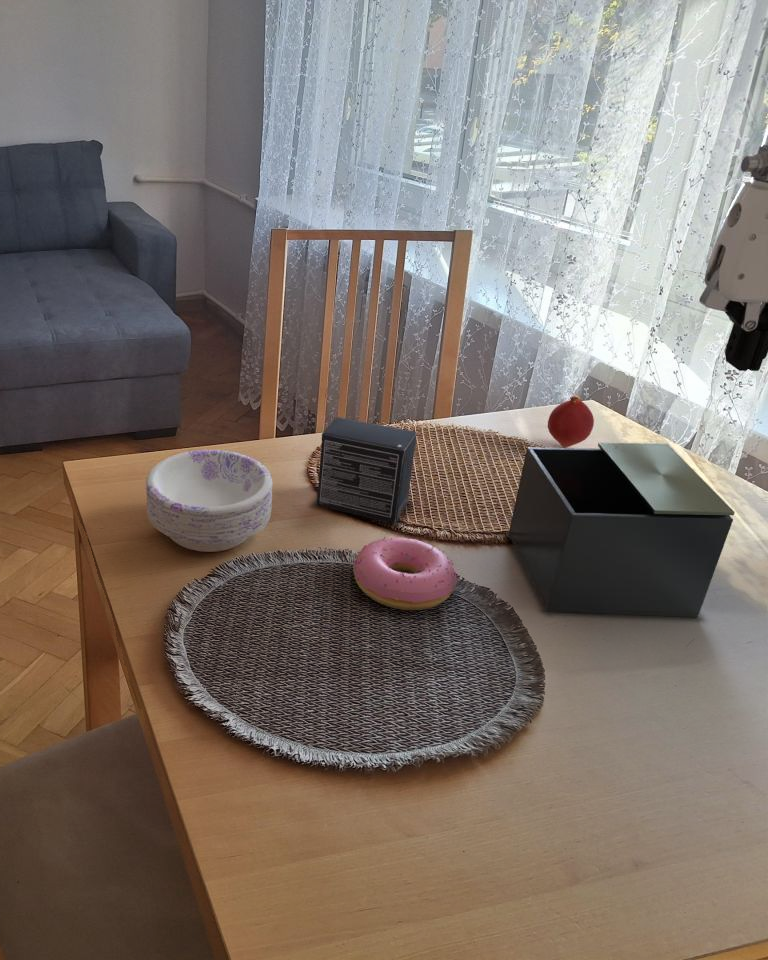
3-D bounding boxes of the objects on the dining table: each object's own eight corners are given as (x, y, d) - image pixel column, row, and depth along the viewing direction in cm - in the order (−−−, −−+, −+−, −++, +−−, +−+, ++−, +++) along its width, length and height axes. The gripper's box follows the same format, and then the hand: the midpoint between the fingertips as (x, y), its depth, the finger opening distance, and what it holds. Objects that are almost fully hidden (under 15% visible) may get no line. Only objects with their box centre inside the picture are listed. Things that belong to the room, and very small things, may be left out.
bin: (638, 539, 102) (665, 449, 97) (698, 617, 89) (733, 519, 84) (508, 535, 104) (527, 447, 98) (547, 611, 91) (572, 515, 85)
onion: (555, 434, 127) (567, 384, 123) (594, 446, 123) (608, 395, 119) (535, 446, 124) (546, 395, 120) (575, 459, 120) (588, 407, 116)
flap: (666, 446, 96) (667, 443, 96) (733, 515, 83) (735, 512, 83) (597, 445, 97) (598, 442, 97) (653, 513, 84) (654, 510, 84)
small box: (409, 502, 111) (420, 429, 106) (395, 526, 107) (406, 451, 101) (330, 484, 116) (337, 413, 111) (314, 506, 111) (320, 433, 106)
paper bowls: (131, 555, 103) (128, 498, 99) (166, 494, 115) (166, 441, 111) (256, 576, 98) (259, 517, 94) (279, 510, 111) (283, 455, 107)
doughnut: (407, 630, 89) (412, 598, 87) (330, 580, 97) (333, 550, 95) (475, 593, 94) (481, 562, 92) (396, 549, 102) (400, 519, 100)
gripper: (737, 178, 72) (677, 380, 81) (931, 174, 71) (848, 381, 80) (695, 163, 79) (644, 352, 88) (872, 160, 77) (801, 352, 86)
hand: (741, 365), depth 84 cm, fingers closed
